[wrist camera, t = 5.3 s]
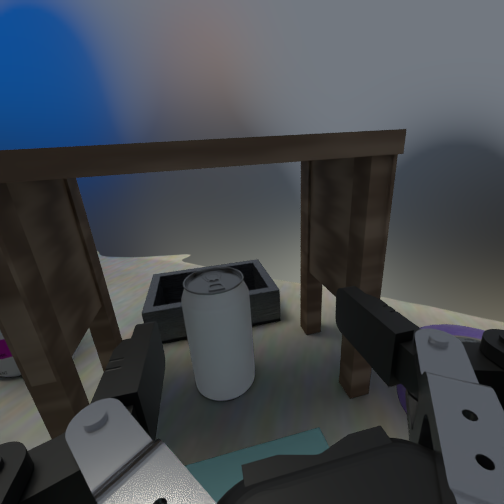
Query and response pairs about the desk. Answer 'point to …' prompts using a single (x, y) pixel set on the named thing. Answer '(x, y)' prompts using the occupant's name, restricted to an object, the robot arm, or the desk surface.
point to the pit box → (171, 289)
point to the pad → (252, 460)
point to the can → (219, 332)
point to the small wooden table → (169, 159)
